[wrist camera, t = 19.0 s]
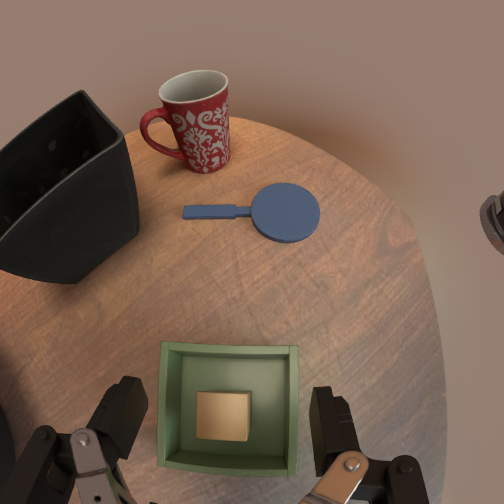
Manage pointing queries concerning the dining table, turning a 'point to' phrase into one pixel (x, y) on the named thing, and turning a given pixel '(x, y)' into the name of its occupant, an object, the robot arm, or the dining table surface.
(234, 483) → the dining table surface
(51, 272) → the flower pot
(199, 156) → the mug
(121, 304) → the dining table surface
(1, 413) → the bowl
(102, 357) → the dining table surface
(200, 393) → the wooden block
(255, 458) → the green storage bin
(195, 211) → the blue ping pong paddle
